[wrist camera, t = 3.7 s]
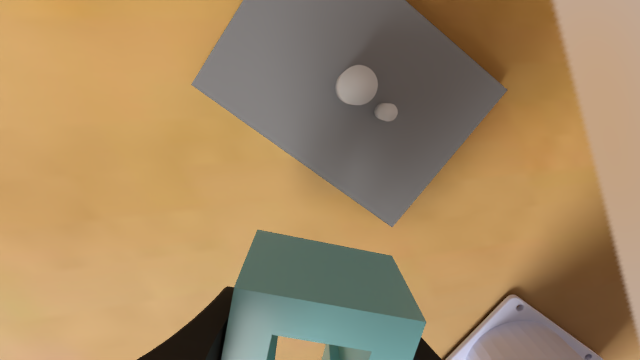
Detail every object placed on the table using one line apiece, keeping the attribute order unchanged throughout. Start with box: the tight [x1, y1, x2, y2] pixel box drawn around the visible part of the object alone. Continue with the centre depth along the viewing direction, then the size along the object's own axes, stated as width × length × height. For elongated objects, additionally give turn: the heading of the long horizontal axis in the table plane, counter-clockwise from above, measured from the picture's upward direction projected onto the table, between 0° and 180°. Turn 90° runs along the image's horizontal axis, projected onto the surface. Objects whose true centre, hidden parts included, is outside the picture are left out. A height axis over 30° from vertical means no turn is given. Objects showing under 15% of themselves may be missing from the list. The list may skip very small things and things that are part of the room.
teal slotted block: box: [221, 230, 426, 360], centre depth 12 cm, size 6×6×4 cm
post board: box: [191, 0, 507, 227], centre depth 16 cm, size 14×10×4 cm
